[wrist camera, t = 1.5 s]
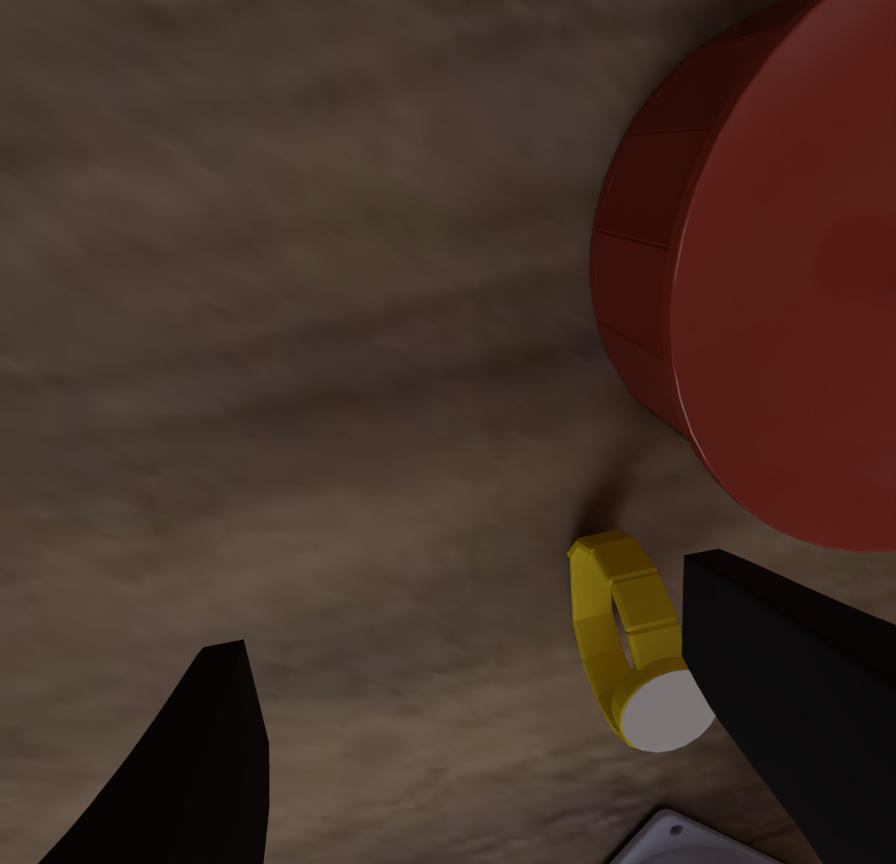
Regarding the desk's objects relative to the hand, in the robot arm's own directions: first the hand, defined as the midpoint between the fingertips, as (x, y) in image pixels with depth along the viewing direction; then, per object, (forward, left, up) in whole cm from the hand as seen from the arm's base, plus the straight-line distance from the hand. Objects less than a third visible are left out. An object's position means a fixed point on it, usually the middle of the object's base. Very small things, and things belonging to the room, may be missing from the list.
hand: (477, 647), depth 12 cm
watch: (-8, +1, -10) cm, 13 cm away
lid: (-6, -11, -5) cm, 13 cm away
